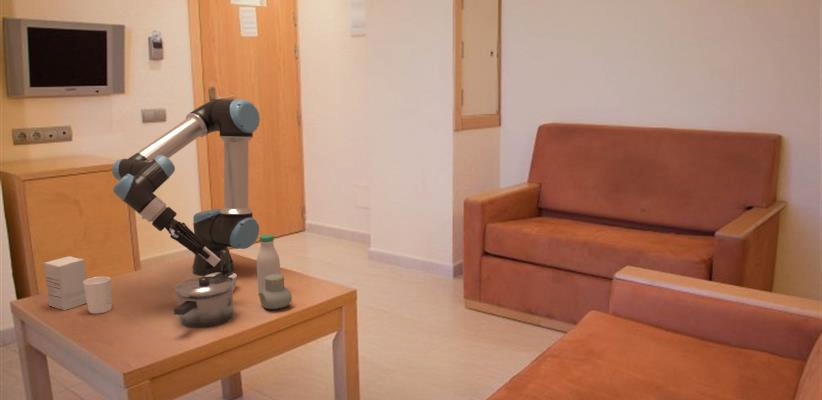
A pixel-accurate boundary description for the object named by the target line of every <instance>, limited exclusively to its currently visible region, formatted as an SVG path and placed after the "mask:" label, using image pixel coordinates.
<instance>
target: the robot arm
mask: <svg viewBox="0 0 822 400" xmlns="http://www.w3.org/2000/svg"><path fill="white" fill-rule="evenodd" d="M260 120H261V119H260V113H259V110H258V109H257V107H256V106H255V104H254V103H253V102H251V101H249V100H247V99H240V98H238V99H231V98H230V99H222V98H220V99H214V100H211V101H207V102H206V103H204V104H202V105H200V106H199V107H197V108H195V109H194V110H192V111H191V112H189V113H188V114H187V115H186V117H185V119H184V120H183V121H182V122H180V123H178V124H177V125H175V126H174V127H173V128H171V129H169V130H167V132H165V133H164V134H163V135H161V136H159V137H158V138H156V139H155V140H153V141H152V142H151V143H149V144H148V145H146V146H145V147H142V148H141V149H140V150H139V151H138V152H136V153H135V154H133V155H131V156H130V157H128V158H121V159H118V160H116V161H115V162H114V163H113V165H112V168H111V169H112V170H111V172H112V176H113V177H114V179H116V181H117V180H118V182H117V183H116V184H115V185H114V186H113V189H112V190H113V194H115V195H116V196H117V197H118V198H119V199H120V200H121V201H122V202H124V203H125V204H127V205H128V206H129V207H130V208H131V209H133V210H134V211H135V212H137V214H139V215H140V216H141V218H142V219H143V220H146V221H147V222H149V223H151V222H152V223H151V224H152V226H153V227H154V228H155V229H157V230H158V231H159V232H162V231H163V230H164V229H165V230H167V232H168V233H169V234H170V236H169V237H170V238H171V239H172V240H174V241H176V242H178V243H179V244H181V246H183V247H184V248H186V249H188V250H189V251H190V252H192V254H193V255H194V258H193V262H192V263H193V264H192V272H193V274H195V275H197V276H198V275H200V276H206V275H209V274H212V273H218V272H222V269H221V256H220V250H223V249H228V250H229V248H232V249H235V250H237V249H238V250H239V249H240V250H245V249H249V248H250V247H252V246H253V245H254V243H255V242H256V241H257V239H258V237H259V234H260V226H259V222H257V220H256V218H253V210H252V209H251V208H250V207H249V142H250V141H251V140H252V139H253V136H254V135H253V134H254V132H256V130H257V129H258V127H259V126H260V122H261V121H260ZM214 132H219V138H221V140H222V141H223V208H215V209H211V210H210V209H209V210H208V209H207V210H204V211H200V212H197V213H195V214H194V215H193V223H192V225H193V231H192V230H191V229H190V228H189V226H188V225H187V224H186V223H185V222H181V221H178V220H177V219H175V217H176V216H177V214H178V213H177V212H176V211H174V210H173V209H172V208H171V207H170V206H167V204H166V203H165V202H164V201H163V200H161V198H159V197H158V196H157V195H155V194H154V193H155V192H156V191H157V190H158V189H159V188H160V187H161V186H162V185H163V184H164V183H165V182H167V181H168V180H169V179H170V177H171V176H172V175H173V174H174V173H175V171H176V167H175V165H174V163H173V161H172V160H171V159H170V158H171V157H173V156H174V155H175V154H176V153H178V152H179V151H182V149H184V148H185V147H187V146H188V145H189V144H190V143H193V141H195V140H197V139H198V138H199V137H200V138H203V137H206V136H207V135H208V134H211V133H214ZM229 255H230V268H231V270H233V269H235V265H234V261H233V258H232V255H231V253H230V252H229ZM233 271H234V270H233Z"/></svg>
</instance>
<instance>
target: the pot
mask: <svg viewBox="0 0 822 400" xmlns="http://www.w3.org/2000/svg"><path fill="white" fill-rule="evenodd" d="M227 278H229V277H227ZM229 279H231V280H232V278H229ZM233 295H234V294H233V291H232V288H231V289H230V290H229V291H227V292H224V293H222V294H218V295H214V296H209V297H200V298H189V297H182V296H179V295H177V294H176V296H177V297H176V298H177V306H176V307H175V308H173V314H174V315H176V316H177V315H178V318H179V325H181V326H183V327H185V328H191V329H204V328H206V329H207V328H211V327H217V326H220V325H223V324H225V323H228V322H229V320H230V321H231V320H233V318H234V317H235V311H234V298H233ZM233 316H234V317H233Z"/></svg>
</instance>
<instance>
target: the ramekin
mask: <svg viewBox="0 0 822 400" xmlns="http://www.w3.org/2000/svg"><path fill="white" fill-rule="evenodd" d="M219 273H220V272H218V273H212V274H209V275H204V277H209V276H215V275H217V274H219ZM229 278H232V282H233V287H232V292H234V291H235V289H236V284H237V278H238V276H237V274H236V273H234V272H233V274H232V275H230V276H229Z"/></svg>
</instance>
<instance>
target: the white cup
mask: <svg viewBox="0 0 822 400" xmlns="http://www.w3.org/2000/svg"><path fill="white" fill-rule="evenodd" d="M111 282H112V281H111V277H109V276H94V277H90V278H87V280H85V281H83V285H84V290H85V296H86V301H87V303H86V304H87V309H88V310H87V311H88V313H90V314H104V313H106V312H109V311H111V309H112V307H113V305H112V298H113V297H112V284H111Z"/></svg>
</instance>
